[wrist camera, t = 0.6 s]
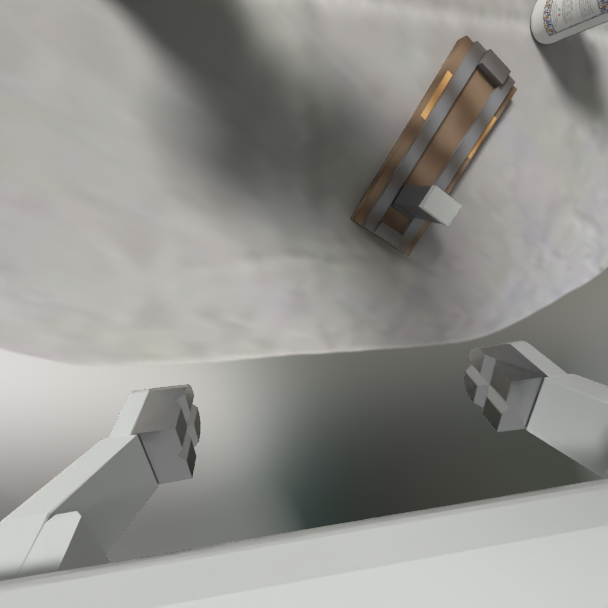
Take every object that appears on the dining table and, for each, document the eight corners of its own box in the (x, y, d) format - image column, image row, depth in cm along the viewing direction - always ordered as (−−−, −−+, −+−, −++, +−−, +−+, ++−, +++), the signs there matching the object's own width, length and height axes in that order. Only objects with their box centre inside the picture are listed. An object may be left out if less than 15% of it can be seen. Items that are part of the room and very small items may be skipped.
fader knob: (411, 220, 57) (446, 228, 48) (388, 203, 55) (420, 209, 46) (425, 198, 56) (463, 203, 47) (402, 181, 54) (438, 182, 45)
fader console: (402, 253, 61) (413, 257, 58) (350, 219, 57) (358, 221, 53) (507, 92, 55) (525, 87, 52) (457, 40, 51) (474, 31, 47)
